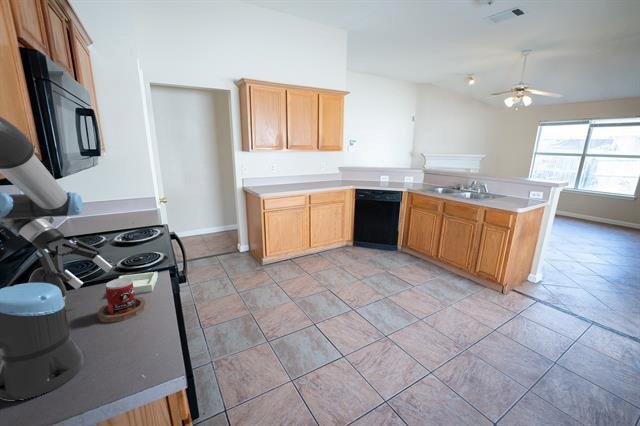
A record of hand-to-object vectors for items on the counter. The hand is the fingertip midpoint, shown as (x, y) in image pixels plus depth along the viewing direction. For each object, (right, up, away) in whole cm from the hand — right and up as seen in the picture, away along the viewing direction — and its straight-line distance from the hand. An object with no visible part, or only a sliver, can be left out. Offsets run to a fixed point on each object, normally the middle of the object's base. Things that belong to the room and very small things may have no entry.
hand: (96, 277), depth 96 cm
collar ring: (+8, -12, +2) cm, 15 cm away
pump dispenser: (-19, -12, +3) cm, 23 cm away
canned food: (+8, -13, +2) cm, 15 cm away
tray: (+1, -9, +20) cm, 22 cm away
